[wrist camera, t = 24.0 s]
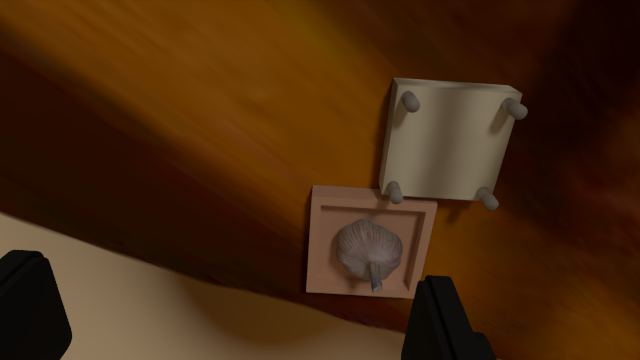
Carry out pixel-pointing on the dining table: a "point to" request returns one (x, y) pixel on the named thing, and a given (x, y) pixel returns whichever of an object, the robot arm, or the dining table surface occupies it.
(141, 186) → the dining table surface
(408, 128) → the peg rest
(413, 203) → the terracotta dish
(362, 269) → the garlic bulb
